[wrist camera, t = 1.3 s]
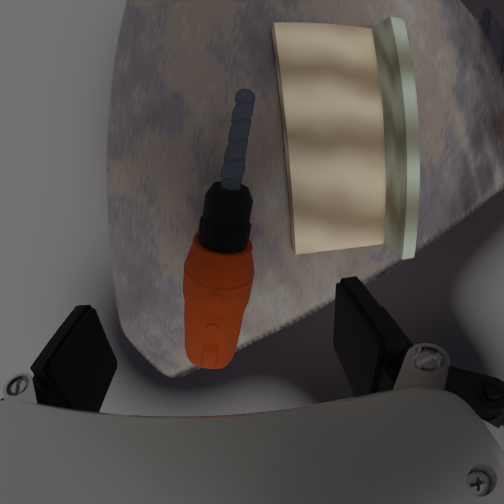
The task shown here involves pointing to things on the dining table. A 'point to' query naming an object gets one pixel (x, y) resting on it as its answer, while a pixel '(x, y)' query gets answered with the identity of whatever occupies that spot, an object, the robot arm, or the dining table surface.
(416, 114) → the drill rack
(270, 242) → the dining table surface
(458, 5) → the dining table surface
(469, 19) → the dining table surface
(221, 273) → the toy drill
